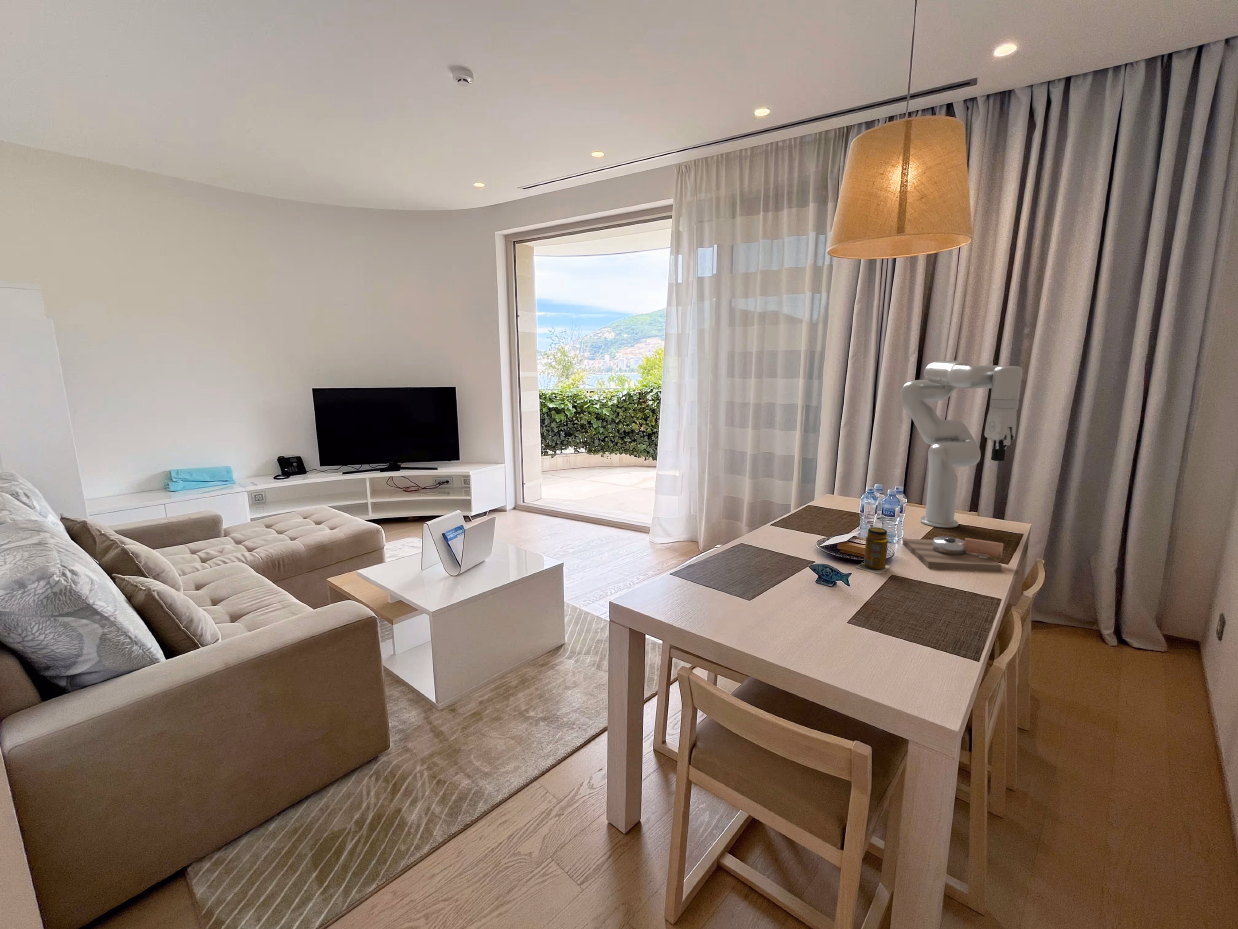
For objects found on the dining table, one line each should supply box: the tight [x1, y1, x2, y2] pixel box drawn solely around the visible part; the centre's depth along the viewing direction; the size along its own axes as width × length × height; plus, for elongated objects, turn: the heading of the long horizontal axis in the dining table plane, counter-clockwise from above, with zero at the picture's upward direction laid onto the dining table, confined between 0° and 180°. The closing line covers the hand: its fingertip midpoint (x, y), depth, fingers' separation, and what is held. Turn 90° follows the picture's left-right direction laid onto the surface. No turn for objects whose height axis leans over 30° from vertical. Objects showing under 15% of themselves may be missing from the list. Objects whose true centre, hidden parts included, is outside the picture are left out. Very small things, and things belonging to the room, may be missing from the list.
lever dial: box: [932, 536, 1004, 558], centre depth 167 cm, size 18×9×4 cm, turn 56°
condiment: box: [855, 526, 891, 575], centre depth 162 cm, size 7×8×12 cm
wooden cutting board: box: [902, 538, 1003, 572], centre depth 170 cm, size 22×20×2 cm
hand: (997, 460), depth 176 cm, fingers closed
